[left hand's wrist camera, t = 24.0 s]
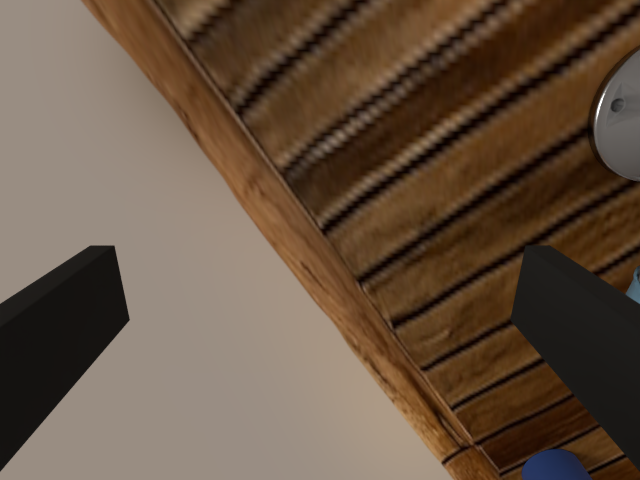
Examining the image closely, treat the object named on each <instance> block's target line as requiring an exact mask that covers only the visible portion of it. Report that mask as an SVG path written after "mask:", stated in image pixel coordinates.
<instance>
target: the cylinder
mask: <svg viewBox="0 0 640 480" xmlns="http://www.w3.org/2000/svg"><path fill="white" fill-rule="evenodd" d="M522 478H523V480H593V479H592V478H591V477H590V475H589V474H588V472H587V471H586V470H585V468H584V467H583V465H582V464H581V463H580V461H579V460H578V458H577V457H576V456H575V455H574V454H573V453H571V452H569V451H566V450H561V449H551V450H546V451H543V452H540V453H538V454H536V455H534V456H533V457H531V458H530V459H529V460H528V461H527V462H526V463H525V465H524V467H523V469H522Z"/></svg>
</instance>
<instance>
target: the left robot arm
mask: <svg viewBox="0 0 640 480" xmlns="http://www.w3.org/2000/svg"><path fill="white" fill-rule="evenodd" d="M588 137H589V142H590V146H591V149H592V151H593V153H594V156H595V157H596V159H597V160H598V161H599V163H600V164H601V165H602V166H603V167H604V168H605V169H607V170H608V171H610V172H611V173H613V174H615V175H617V176H620V177H624V178H627V179H631V180H635V181H640V46H638V47H636V48H635V49H633V50H632V51H630V52H629V53H628V54H627V55H625V56H624V57H623V58H622V59H621V60H620V61H619V62H618V63H617V64H616V65H615V66H614V67H613V68H612V69H611V71H610V72H609V73H608V74H607V76H606V77H605V79H604V80H603V82H602V83H601V85H600V87H599V89H598V90H597V93H596V95H595V97H594V100H593V102H592V105H591V109H590V113H589V118H588ZM633 276H634V279H633V281H632V283H631V285H630V287H629V289H628V291H627V292H626V294H624V293H622V292H621V291H619V290H618V289H616V288H614V287H613V286H611V285H610V284H608V283H607V282H605V281H604V280H602V279H601V278H599V277H597V276H596V275H594V274H593V273H591V272H590V271H588V270H587V269H585V268H584V267H582V266H580V265H579V264H577V263H576V262H574V261H573V260H571V259H570V258H568V257H567V256H565V255H563V254H562V253H560V252H559V251H557V250H556V249H554V248H553V247H551V246H525V251H524V256H523V261H522V266H521V271H520V275H519V280H518V285H517V290H516V295H515V300H514V305H513V309H512V314H511V319H510V320H511V321H512V323H513V324H514V325H515V326H516V327H517V328H518V330H519V331H520V332H521V333H522V334H523V335H524V337H525V338H526V339H527V340H528V341H529V342H530V344H531V345H532V346H533V347H534V348H535V349H536V351H537V352H538V353H539V354H540V355H541V357H542V358H543V359H544V360H545V361H546V362H547V364H548V365H549V366H550V367H551V368H552V369H553V371H554V372H555V373H556V374H557V375H558V376H559V378H560V379H561V380H562V381H563V382H564V383H565V385H566V386H567V387H568V388H569V389H570V390H571V392H572V393H573V394H574V395H575V396H576V397H577V399H578V400H579V401H580V402H581V403H582V405H583V406H584V407H585V408H586V409H587V410H588V412H589V413H590V414H591V415H592V416H593V417H594V419H595V420H596V421H597V422H598V423H599V424H600V426H601V427H602V428H603V429H604V430H605V431H606V433H607V434H608V435H609V436H610V437H611V438H612V440H613V441H614V442H615V443H616V444H617V445H618V447H619V448H620V449H621V450H622V451H623V453H624V454H625V455H626V456H627V457H628V458H629V460H630V461H631V462H632V463H633V464H634V465H635V467H636V468H637V469H638V470H639V471H640V266H638V267H637V268H636V270H635V272H634V275H633ZM129 320H130V319H129V314H128V309H127V305H126V300H125V295H124V290H123V285H122V281H121V275H120V271H119V266H118V261H117V256H116V251H115V246H89V247H87V248H86V249H84V250H83V251H81V252H80V253H78V254H77V255H75V256H73V257H72V258H70V259H69V260H67V261H66V262H64V263H63V264H61V265H60V266H58V267H56V268H55V269H53V270H52V271H50V272H49V273H47V274H46V275H44V276H43V277H41V278H40V279H38V280H36V281H35V282H33V283H32V284H30V285H29V286H27V287H26V288H24V289H23V290H21V291H19V292H18V293H16V294H15V295H13V296H12V297H10V298H9V299H7V300H5V301H4V302H2V303H1V304H0V471H1V470H2V469H3V468H4V467H5V465H6V464H7V463H8V462H9V461H10V459H11V458H12V457H13V456H14V455H15V454H16V452H17V451H18V450H19V449H20V448H21V447H22V445H23V444H24V443H25V442H26V441H27V440H28V438H29V437H30V436H31V435H32V434H33V433H34V431H35V430H36V429H37V428H38V427H39V426H40V424H41V423H42V422H43V421H44V420H45V419H46V417H47V416H48V415H49V414H50V413H51V412H52V410H53V409H54V408H55V407H56V406H57V404H58V403H59V402H60V401H61V400H62V399H63V397H64V396H65V395H66V394H67V393H68V392H69V390H70V389H71V388H72V387H73V386H74V385H75V383H76V382H77V381H78V380H79V379H80V378H81V376H82V375H83V374H84V373H85V372H86V371H87V369H88V368H89V367H90V366H91V365H92V363H93V362H94V361H95V360H96V359H97V358H98V356H99V355H100V354H101V353H102V352H103V351H104V349H105V348H106V347H107V346H108V345H109V344H110V342H111V341H112V340H113V339H114V338H115V337H116V335H117V334H118V333H119V332H120V331H121V330H122V328H123V327H124V326H125V325H126V324H127V322H128V321H129Z"/></svg>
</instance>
